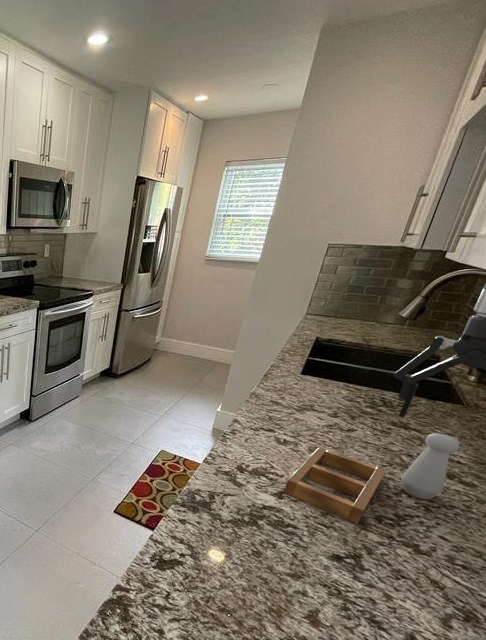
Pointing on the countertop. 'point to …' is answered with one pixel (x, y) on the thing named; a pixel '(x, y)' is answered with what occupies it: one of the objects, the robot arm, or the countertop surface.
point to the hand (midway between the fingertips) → (451, 427)
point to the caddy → (336, 483)
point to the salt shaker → (429, 467)
